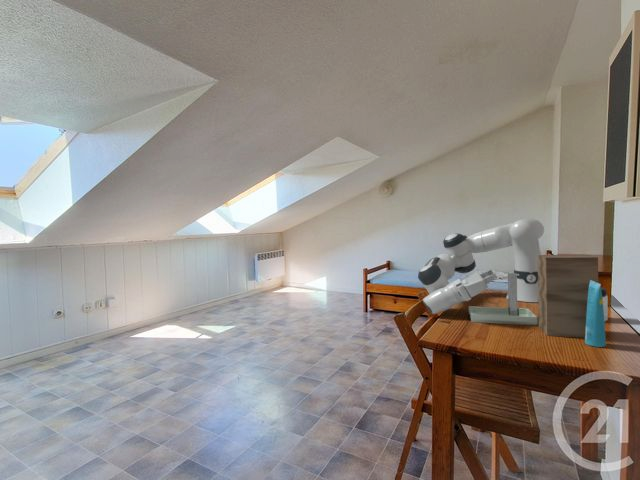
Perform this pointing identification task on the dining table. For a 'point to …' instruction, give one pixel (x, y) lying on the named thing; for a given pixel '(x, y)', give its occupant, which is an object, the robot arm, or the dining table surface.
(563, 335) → the stand
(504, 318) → the tray
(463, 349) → the dining table surface
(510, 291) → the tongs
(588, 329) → the tube
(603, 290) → the jar
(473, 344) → the dining table surface
